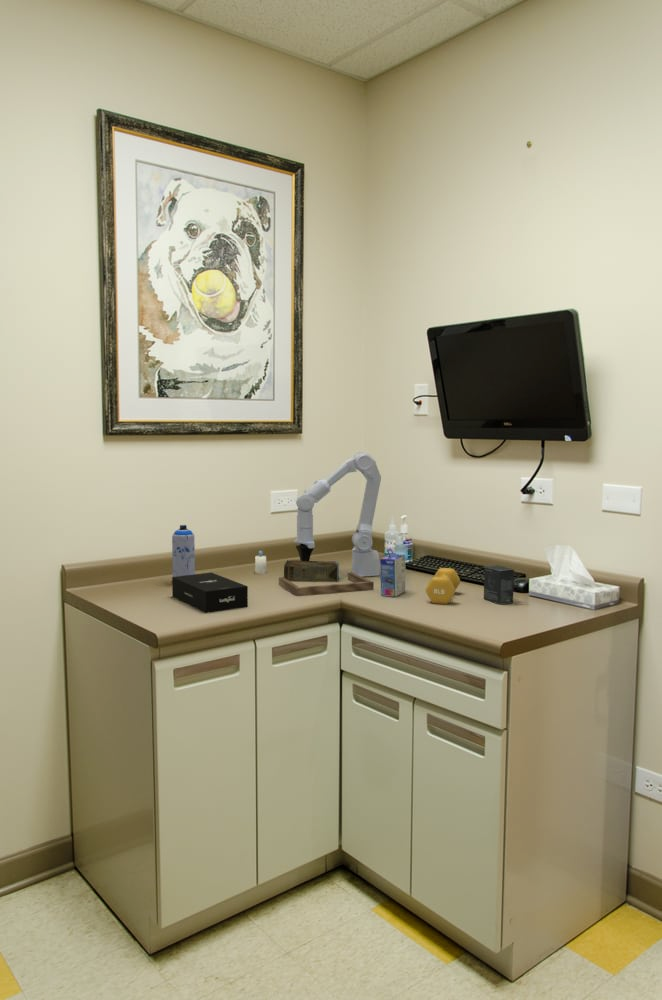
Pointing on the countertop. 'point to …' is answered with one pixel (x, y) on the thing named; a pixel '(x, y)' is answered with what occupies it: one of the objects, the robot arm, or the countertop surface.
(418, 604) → the countertop surface
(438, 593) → the dumbbell
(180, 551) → the aerosol can
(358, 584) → the display bay
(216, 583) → the box
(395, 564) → the ink cartridge box
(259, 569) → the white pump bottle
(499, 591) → the box
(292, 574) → the beverage carton
